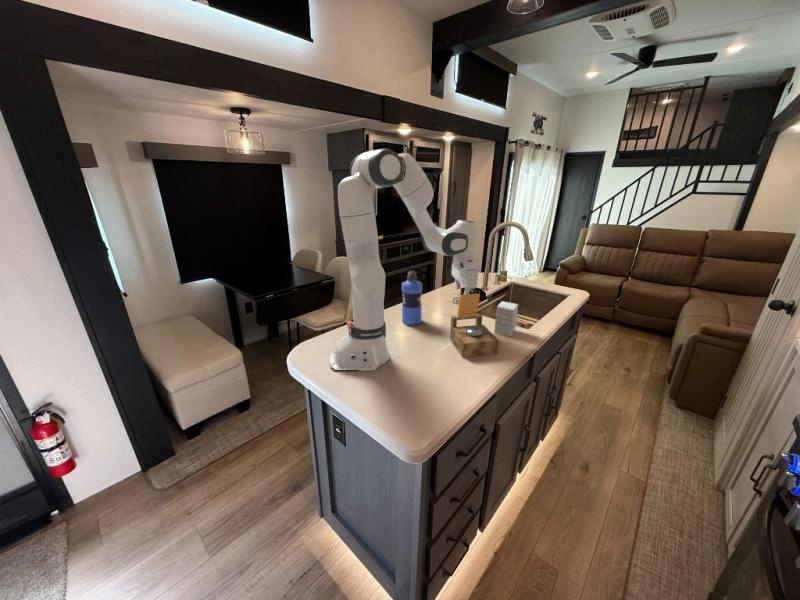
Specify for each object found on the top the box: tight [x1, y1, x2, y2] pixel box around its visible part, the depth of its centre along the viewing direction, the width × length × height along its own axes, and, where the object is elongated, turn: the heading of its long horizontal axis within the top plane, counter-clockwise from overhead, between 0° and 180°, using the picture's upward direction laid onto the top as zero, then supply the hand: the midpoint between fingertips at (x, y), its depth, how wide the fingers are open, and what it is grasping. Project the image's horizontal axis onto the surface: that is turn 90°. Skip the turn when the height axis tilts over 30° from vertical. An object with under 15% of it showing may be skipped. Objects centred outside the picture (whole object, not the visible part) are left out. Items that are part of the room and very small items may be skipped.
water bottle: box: [401, 269, 423, 327], centre depth 142 cm, size 9×9×25 cm
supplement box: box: [493, 300, 519, 337], centre depth 134 cm, size 7×7×13 cm
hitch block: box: [449, 313, 500, 358], centre depth 123 cm, size 14×16×10 cm
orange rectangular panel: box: [456, 293, 481, 321], centre depth 126 cm, size 8×12×1 cm
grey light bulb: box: [466, 327, 482, 337], centre depth 122 cm, size 6×6×7 cm
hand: (462, 292), depth 131 cm, fingers open, 8 cm apart
